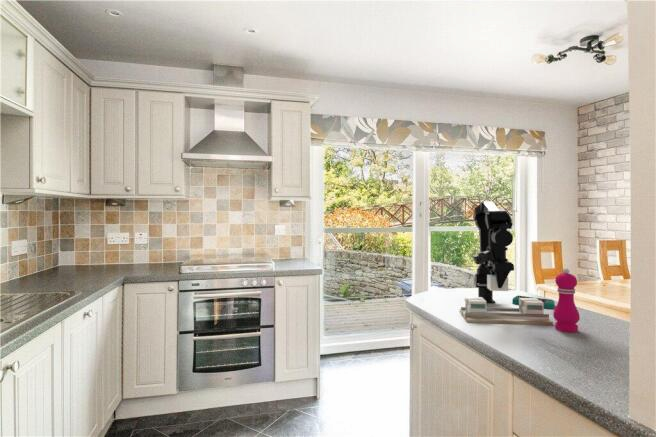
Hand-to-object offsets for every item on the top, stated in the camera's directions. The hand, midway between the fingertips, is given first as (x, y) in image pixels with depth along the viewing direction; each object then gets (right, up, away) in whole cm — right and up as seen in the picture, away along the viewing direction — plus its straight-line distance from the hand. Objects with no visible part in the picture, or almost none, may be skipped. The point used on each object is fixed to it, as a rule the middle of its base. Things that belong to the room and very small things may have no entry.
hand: (497, 286), depth 136 cm
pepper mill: (+15, -11, -15) cm, 25 cm away
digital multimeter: (+22, -11, +17) cm, 30 cm away
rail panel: (+2, -11, -1) cm, 11 cm away
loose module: (0, -1, 0) cm, 1 cm away
